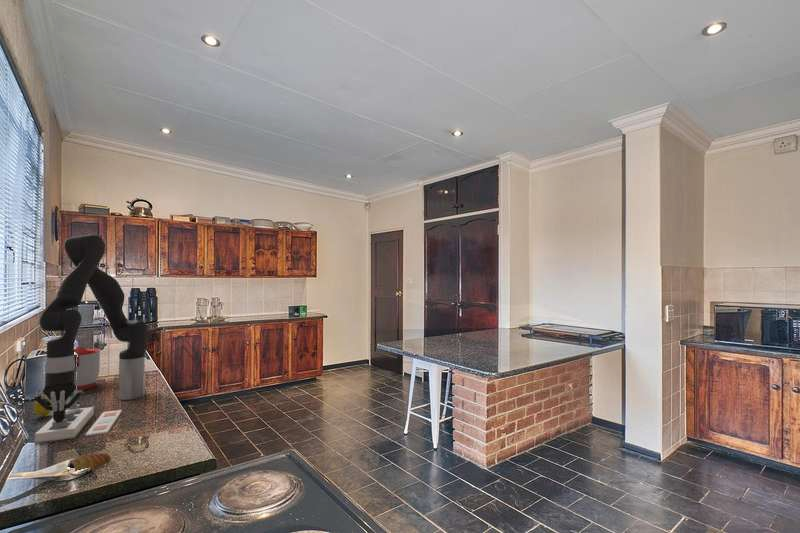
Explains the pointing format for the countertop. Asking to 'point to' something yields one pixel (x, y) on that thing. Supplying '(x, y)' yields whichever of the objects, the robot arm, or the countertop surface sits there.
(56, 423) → the button near
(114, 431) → the countertop surface
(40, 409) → the lemon
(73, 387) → the robot arm
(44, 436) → the button panel
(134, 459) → the countertop surface
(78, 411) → the button far
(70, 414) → the button middle
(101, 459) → the pastry
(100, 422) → the pattern card
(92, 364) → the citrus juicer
